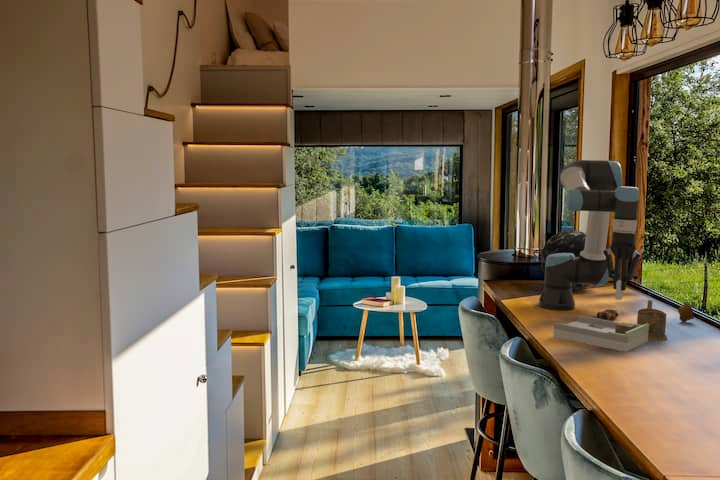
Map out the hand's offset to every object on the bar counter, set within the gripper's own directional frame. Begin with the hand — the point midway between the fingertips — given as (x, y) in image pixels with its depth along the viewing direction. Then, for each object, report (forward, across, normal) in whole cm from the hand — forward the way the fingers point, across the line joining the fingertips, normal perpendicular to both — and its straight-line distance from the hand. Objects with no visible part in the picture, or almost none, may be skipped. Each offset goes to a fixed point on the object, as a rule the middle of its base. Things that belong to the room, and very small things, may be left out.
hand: (618, 299), depth 242 cm
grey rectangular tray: (+15, -5, 0) cm, 16 cm away
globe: (+16, -57, +87) cm, 105 cm away
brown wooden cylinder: (+16, +4, +21) cm, 27 cm away
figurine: (+16, -17, +32) cm, 40 cm away
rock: (+16, +8, +55) cm, 58 cm away
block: (+12, +3, -1) cm, 13 cm away
